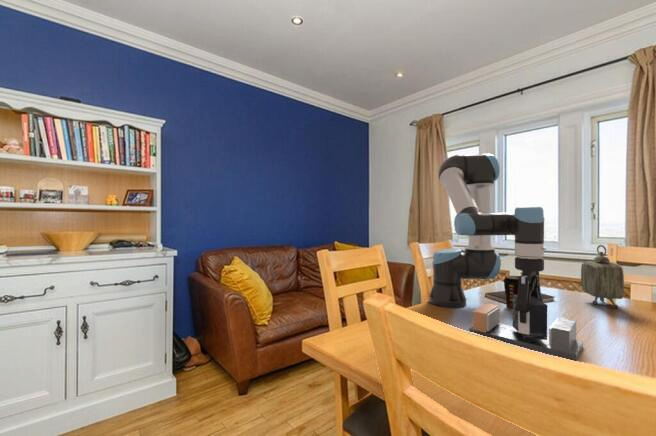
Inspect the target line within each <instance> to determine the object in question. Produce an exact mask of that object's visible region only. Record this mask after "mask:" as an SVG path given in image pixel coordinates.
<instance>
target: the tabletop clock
mask: <svg viewBox="0 0 656 436" xmlns="http://www.w3.org/2000/svg"><path fill="white" fill-rule="evenodd" d="M596 247H597V248H596V252H597V254H598V256H595V257H594V259H593V260H592V261H590V260H589V261H586V262H583V263H581V269H580V283H581V284H580V285H581V289H582V291H583V292H585V293H587V294H588V295H589V296H591V297H594V299H593V300H592V304H593V305H598V299H599V301H601V302H605V300H606V299H607V300H609V301H610V303H611V304H612V306H613V308H614V309H619V306H618V304H616V303H615V301H614V300H613V299H615V300H622V299H623V297H624V292H625V291H624V289H625V288H624V287H625V281H624V280H625V276H624V270H623V269H624V268H623V267H622V266H621V265H620V264H618V263H616V262H613V261H610V259H609V258H608V257H607V256H606V255H607V248H606V246H605V245H603V244H599V245H598V246H596ZM600 248H603V249H604V251H599V249H600Z"/></svg>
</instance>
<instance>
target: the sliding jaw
mask: <svg viewBox="0 0 656 436" xmlns="http://www.w3.org/2000/svg"><path fill="white" fill-rule="evenodd" d="M500 308H501V307H499V305H498V304H497V305H496V304H493V303H492V304H491V303H485V304H482V305H481V306H479V307H477V308H476V309H474V310H473V311H472V326H473V330H477V331H481V332H485V333H486V332H487V331H490V330H491V329H492V328H494V327H495V326H496V325H497V324H499V323H500V324H501V310H500Z"/></svg>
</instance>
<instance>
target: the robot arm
mask: <svg viewBox="0 0 656 436" xmlns="http://www.w3.org/2000/svg"><path fill="white" fill-rule="evenodd" d="M499 177H500V163H499V161H498V159H497V158H496V156H495V155H494V154H491V153H474V154H455V155H452V156H450V157H448V158H447V159H445V160H444V162H442V163H441V165H440V167H439V169H438V179H439V182H440V184H441V185H442V186H443V187H445V190H446V192H447V194H448V197H449V199H450V201H451V203H452V206H453V209H454V211H455V213H456V215H455V216H454V221H453V224H454V231H455V233H456V234H457V235H459V236H467V237H468V244H467V245H466V246H465V247H464V248H465V249H464V251H462V250H461V249H460V248H444V249H440V250H437V251H435V252H434V253H433V257H432V265H433V266H432V271H433V272H432V273H433V274H432V276H433V278H432V282H433V285H432V287H431V291H430V293H429V303H430V302H431V304H432V303H433V304H432V305H434V304H435V306H437V305H440V306H439V307H442V306H445V307H444V308H461V307H462V306H463V307H465V306H466V305H467V298H466V294H465V291H464V289H463V286H462V283H463V282H462V281H463V280H483V281H484V280H494V279H495V278H497V276H498V275H499V273H500V271H501V266H502V263H501V262H502V260H501V256H500V254H499V253H498V252H496V250H495V247H494V246H493V245H492V243H491V242H492V241H491V236H514V255H515V256H516V257H515V258H514V269H515V270H519V271H521V273H522V274H521V275H518V276H519V277H518V293H517V303H516V308H515V310H516V311H518V332H519V333H523V334H527V335H529V334H530V312H528V311H529V310H528V309H529V303H530V297H531V296H534V297H536V298H537V299H539V300H540V301H542V302H543V299H541V293H542V292H541V291H542V290H541V282H540V280H541V279H540V272H543V271H545V259H544V258H543V257H544V256H545V254H544V253H545V251H546V250H547V247H546V246H544V245H545V244H544V243H545V216H544V209H543V207H541V206H517V207H516V208H515V209H514V212H492V213H491V188H492V187H493V186H494V184H495V181H497V180H498V179H499ZM543 303H544V302H543ZM521 306H523V307H521Z"/></svg>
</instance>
